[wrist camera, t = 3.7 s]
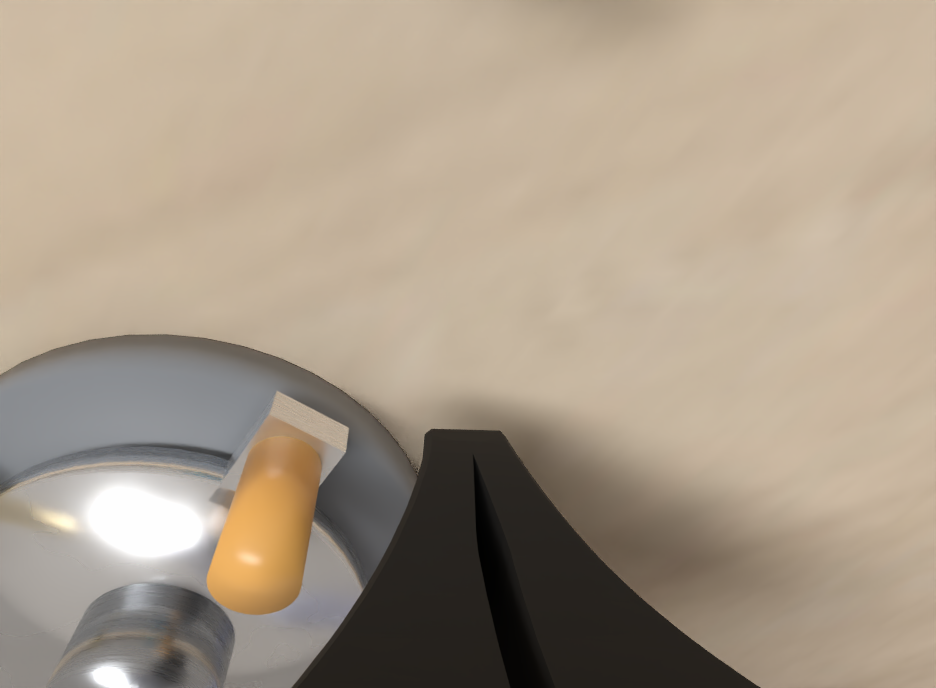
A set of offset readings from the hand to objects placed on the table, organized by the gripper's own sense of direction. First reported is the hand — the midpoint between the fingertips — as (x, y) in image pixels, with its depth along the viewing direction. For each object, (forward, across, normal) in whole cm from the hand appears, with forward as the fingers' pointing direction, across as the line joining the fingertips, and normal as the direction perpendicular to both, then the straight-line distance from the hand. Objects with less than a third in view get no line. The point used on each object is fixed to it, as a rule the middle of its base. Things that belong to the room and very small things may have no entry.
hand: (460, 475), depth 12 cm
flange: (+2, +6, +5) cm, 7 cm away
